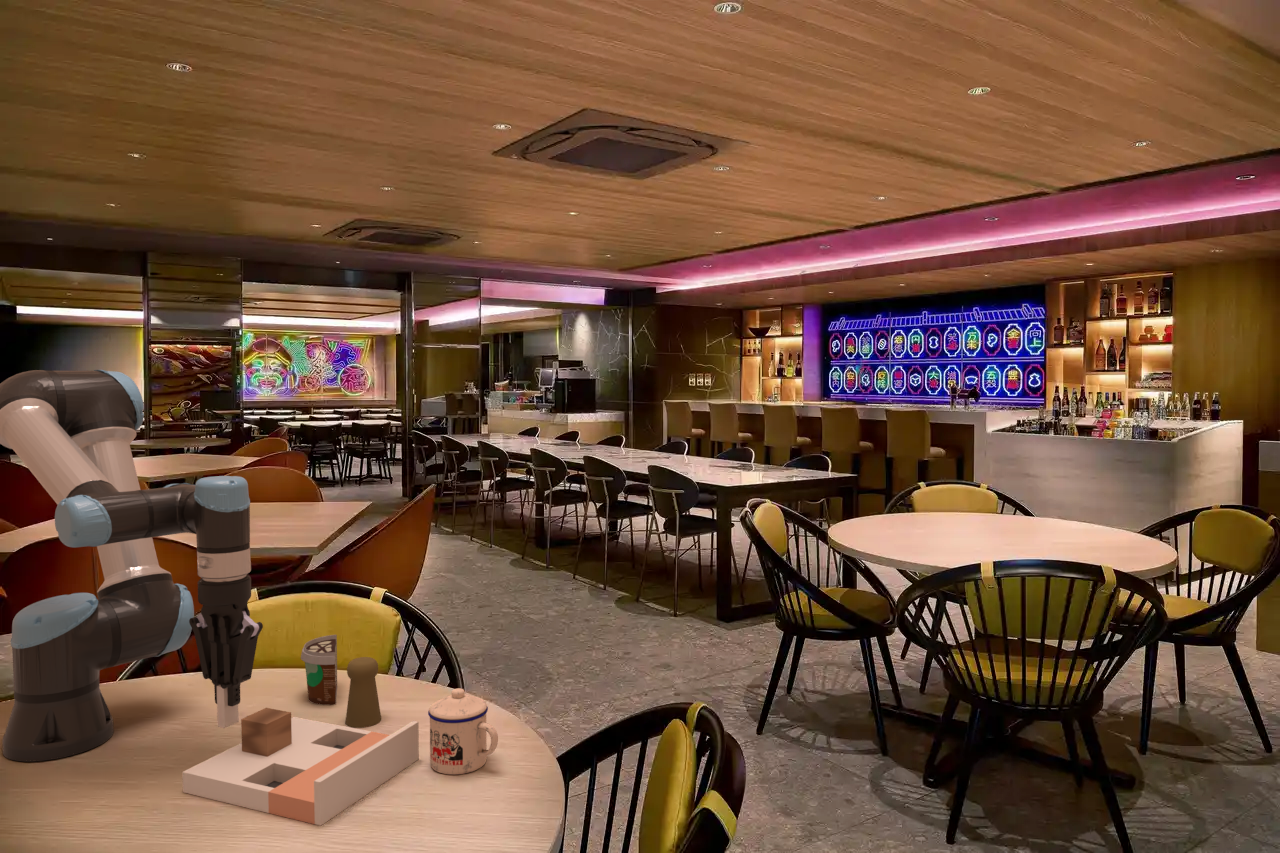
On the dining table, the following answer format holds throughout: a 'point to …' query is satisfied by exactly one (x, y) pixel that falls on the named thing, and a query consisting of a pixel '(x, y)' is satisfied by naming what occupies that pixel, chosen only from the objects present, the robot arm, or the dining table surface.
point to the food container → (321, 669)
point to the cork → (362, 693)
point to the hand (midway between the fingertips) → (228, 724)
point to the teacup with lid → (459, 733)
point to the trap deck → (306, 770)
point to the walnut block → (266, 731)
